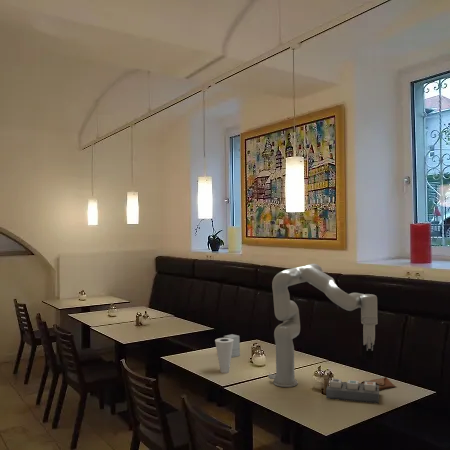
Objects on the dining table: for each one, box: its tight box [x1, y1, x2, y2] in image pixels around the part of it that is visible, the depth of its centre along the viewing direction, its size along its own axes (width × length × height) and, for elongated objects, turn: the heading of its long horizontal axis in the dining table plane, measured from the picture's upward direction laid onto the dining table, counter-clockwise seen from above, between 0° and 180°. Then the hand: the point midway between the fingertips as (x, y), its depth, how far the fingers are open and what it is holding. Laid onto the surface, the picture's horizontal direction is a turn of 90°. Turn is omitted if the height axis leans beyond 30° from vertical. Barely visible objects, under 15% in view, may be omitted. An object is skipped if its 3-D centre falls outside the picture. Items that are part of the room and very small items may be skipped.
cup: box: [214, 337, 234, 374], centre depth 285 cm, size 11×11×18 cm
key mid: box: [346, 379, 360, 390], centre depth 243 cm, size 5×5×4 cm
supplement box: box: [223, 333, 241, 359], centre depth 318 cm, size 7×7×13 cm
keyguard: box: [325, 381, 380, 404], centre depth 243 cm, size 24×13×4 cm, turn 72°
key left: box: [329, 378, 343, 388], centre depth 245 cm, size 5×5×4 cm
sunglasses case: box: [360, 376, 397, 392], centre depth 255 cm, size 18×7×7 cm, turn 117°
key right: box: [364, 380, 376, 391], centre depth 240 cm, size 5×5×4 cm
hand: (370, 358), depth 240 cm, fingers closed
